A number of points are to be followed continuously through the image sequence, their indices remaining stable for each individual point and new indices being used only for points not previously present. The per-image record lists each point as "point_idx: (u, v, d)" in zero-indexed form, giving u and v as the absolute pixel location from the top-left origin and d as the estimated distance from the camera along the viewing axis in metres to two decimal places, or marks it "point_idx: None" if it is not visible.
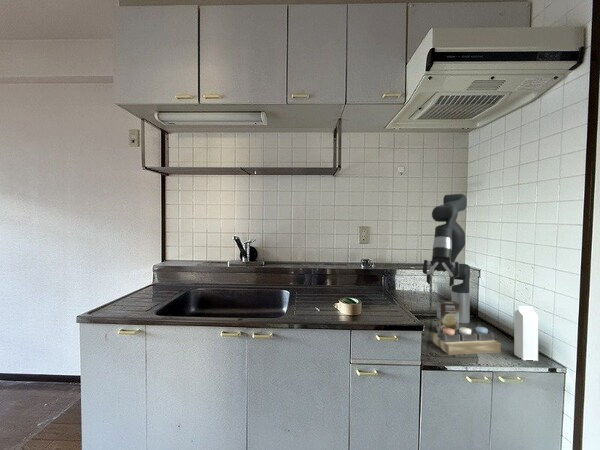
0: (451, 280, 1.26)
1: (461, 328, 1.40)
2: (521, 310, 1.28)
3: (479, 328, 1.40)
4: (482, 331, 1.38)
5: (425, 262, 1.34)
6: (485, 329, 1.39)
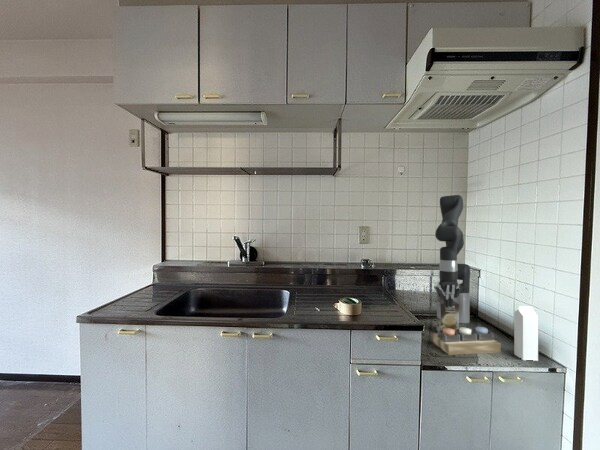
0: (452, 302, 1.38)
1: (461, 328, 1.40)
2: (521, 310, 1.28)
3: (479, 328, 1.40)
4: (482, 331, 1.38)
5: (438, 289, 1.37)
6: (485, 329, 1.39)
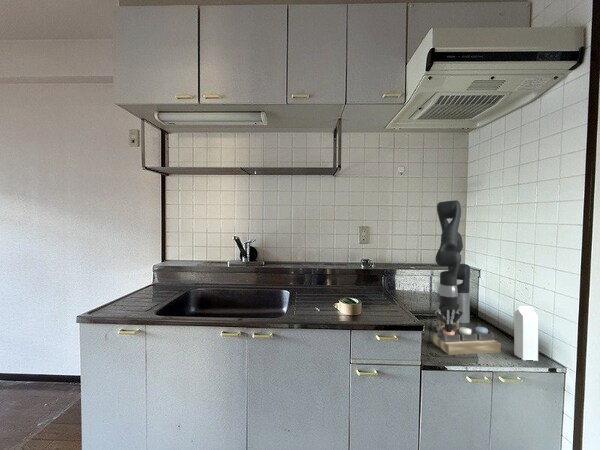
0: (451, 327, 1.38)
1: (461, 328, 1.40)
2: (521, 310, 1.28)
3: (479, 328, 1.40)
4: (482, 331, 1.38)
5: (439, 314, 1.37)
6: (485, 329, 1.39)
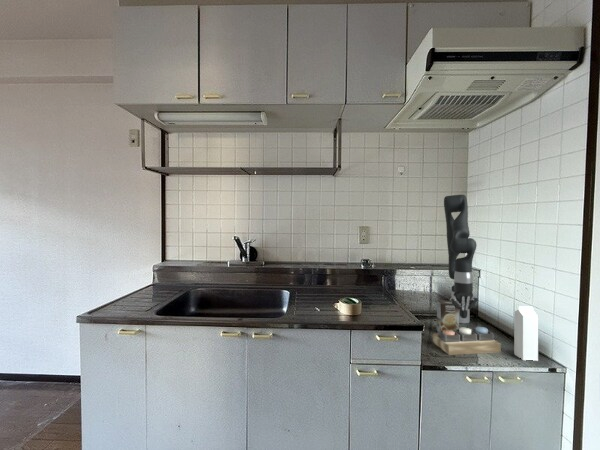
0: (466, 313, 1.39)
1: (461, 328, 1.40)
2: (521, 310, 1.28)
3: (479, 328, 1.40)
4: (482, 331, 1.38)
5: (454, 301, 1.38)
6: (485, 329, 1.39)
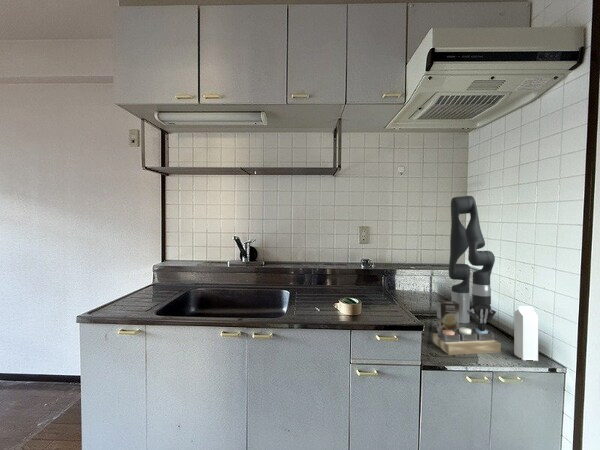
0: (484, 326, 1.39)
1: (461, 328, 1.40)
2: (521, 310, 1.28)
3: (479, 330, 1.40)
4: (482, 333, 1.38)
5: (472, 313, 1.38)
6: (485, 331, 1.39)
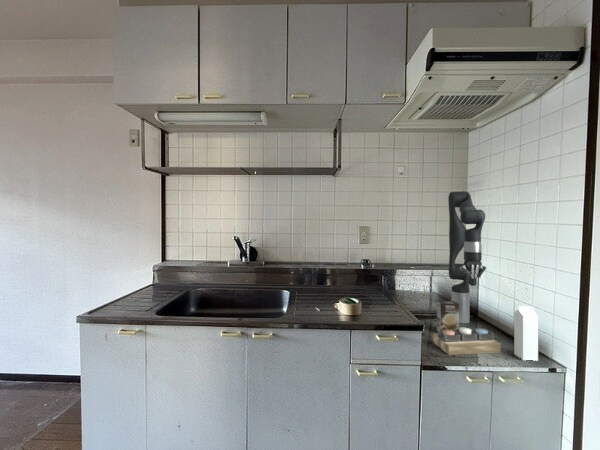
0: (475, 281, 1.47)
1: (461, 328, 1.40)
2: (521, 310, 1.28)
3: (479, 330, 1.40)
4: (482, 333, 1.38)
5: (464, 269, 1.46)
6: (485, 331, 1.39)
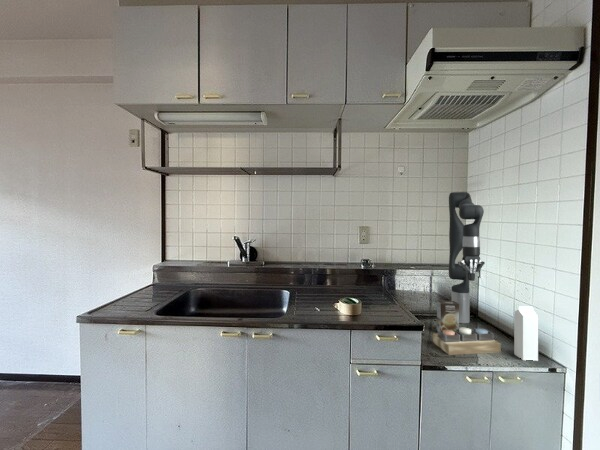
0: (473, 276, 1.48)
1: (461, 328, 1.40)
2: (521, 310, 1.28)
3: (479, 330, 1.40)
4: (482, 333, 1.38)
5: (462, 264, 1.47)
6: (485, 331, 1.39)
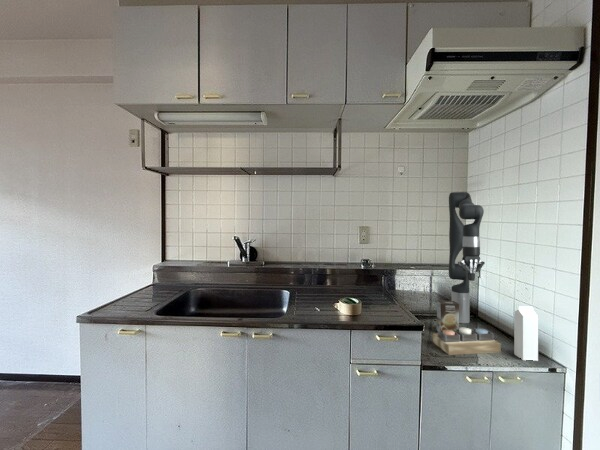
0: (473, 276, 1.48)
1: (461, 328, 1.40)
2: (521, 310, 1.28)
3: (479, 330, 1.40)
4: (482, 333, 1.38)
5: (462, 264, 1.47)
6: (485, 331, 1.39)
